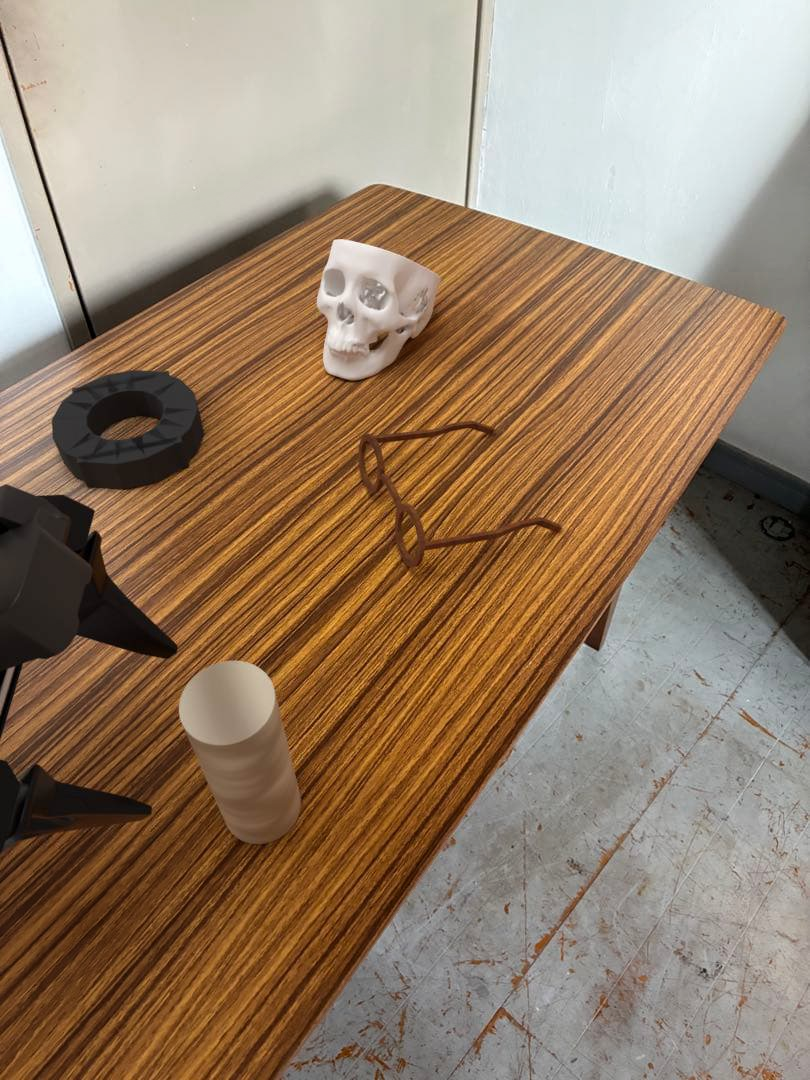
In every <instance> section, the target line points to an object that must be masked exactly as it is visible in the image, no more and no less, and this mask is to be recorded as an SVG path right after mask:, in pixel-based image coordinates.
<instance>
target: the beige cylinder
mask: <svg viewBox="0 0 810 1080" xmlns="http://www.w3.org/2000/svg"><path fill="white" fill-rule="evenodd" d="M278 701H279V700H278V698H277V694H276V690H275V687H274V683H273V682H272V679H271V678H270V676H269V675H268V674H267V673H266V672H265V670H263V669H262V668H260V667H259V666H257V665H255V664H253V663H250V662H247V661H243V660H224V661H219V662H216V663H213V664H211V665H208V666H207V667H205V668H203V669H201V670H200V671H198V672H197V673H196V674H194V675H193V676H192V677H191V679H190V680H189V681H188V682H187V684H186V685H185V687H184V688H183V690H182V693H181V695H180V698H179V702H178V716H179V720H180V723H181V725H182V728H183V730H184V732H185V735H186V736H187V739H188V741H189V744H190V746H191V748H192V751H193V752H194V755H195V757H196V760H197V762H198V764H199V767H200V768H201V771H202V773H203V776H204V778H205V780H206V783H207V784H208V787H209V789H210V791H211V793H212V795H213V798H214V800H215V802H216V805H217V808H218V809H219V812H220V814H221V816H222V818H223V821H224V823H225V825H226V827H227V829H228V831H229V832H230V833H231V834H232V835H233V836H234V837H235V838H237V839H238V840H240V841H241V842H244V843H246V844H247V843H248V844H252V845H264V844H268V843H272V842H275V841H277V840H279V839H280V838H282V837H284V836H285V835H286V834H288V832H289V831H290V830H291V829H292V828H293V827H294V825H295V824H296V821H297V820H298V818H299V816H300V814H301V813H300V812H301V809H302V797H301V792H300V788H299V783H298V780H297V775H296V772H295V767H294V763H293V759H292V756H291V752H290V751H291V750H290V747H289V743H288V739H287V735H286V731H285V730H286V729H285V726H284V723H283V718H282V714H281V710H280V705H279V702H278Z"/></svg>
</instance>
